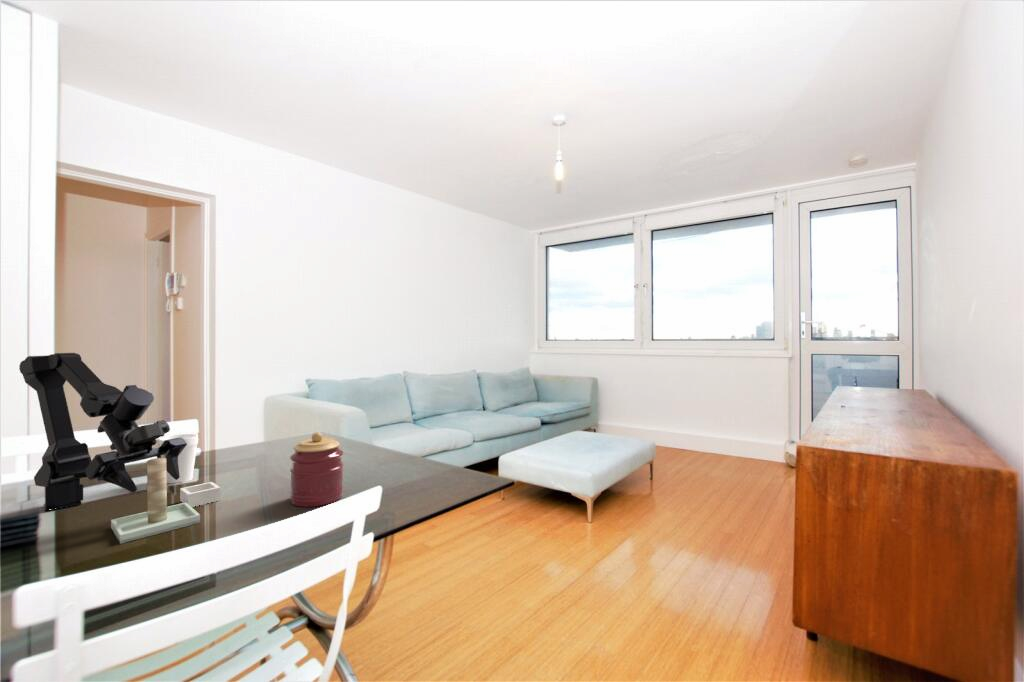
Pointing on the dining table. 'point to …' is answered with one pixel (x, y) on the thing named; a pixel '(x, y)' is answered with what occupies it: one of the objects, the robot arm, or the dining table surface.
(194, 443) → the foam cup
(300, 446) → the canister
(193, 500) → the collar
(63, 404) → the robot arm
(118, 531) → the tray
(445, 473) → the dining table surface
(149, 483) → the dowel
